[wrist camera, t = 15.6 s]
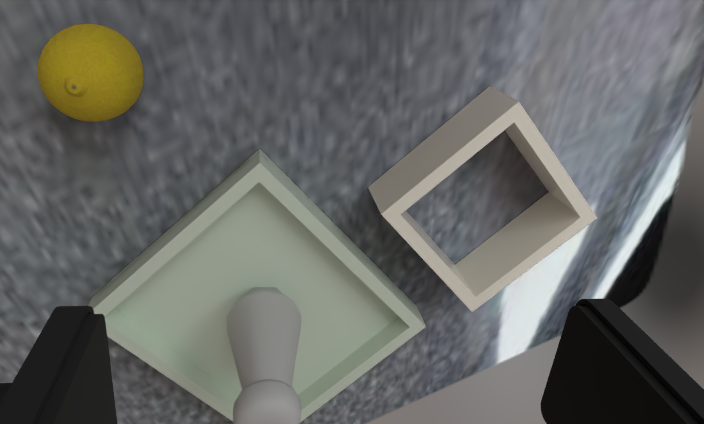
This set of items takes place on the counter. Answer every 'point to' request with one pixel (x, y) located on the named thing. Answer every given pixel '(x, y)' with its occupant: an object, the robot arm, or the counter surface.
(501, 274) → the square frame
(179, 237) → the tray
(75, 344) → the robot arm
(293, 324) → the salt shaker
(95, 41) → the lemon
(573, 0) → the counter surface
